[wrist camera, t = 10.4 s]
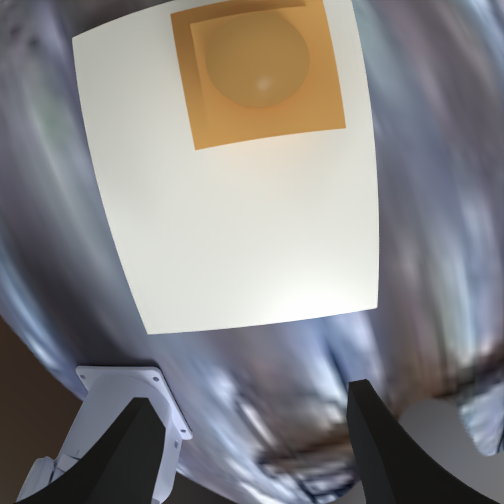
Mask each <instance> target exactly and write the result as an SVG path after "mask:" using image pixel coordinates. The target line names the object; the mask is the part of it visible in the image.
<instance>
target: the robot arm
mask: <svg viewBox="0 0 504 504" xmlns="http://www.w3.org/2000/svg"><path fill="white" fill-rule="evenodd" d="M75 371H76V373H77V375H78V376H79V378H80V379H81V381H82V383H83V384H84V386H85V387H86V389H87V390H88V394H87V396H86V398H85V400H84V402H83V404H82V406H81V408H80V410H79V412H78V414H77V417H76V418H75V421H74V423H73V425H72V427H71V429H70V432H69V433H68V435H67V438H66V440H65V442H64V444H63V446H62V449H61V451H60V453H59V455H58V457H57V458H56V459H55V460H52V459H51V458H49V457H45V458H40V459H37V460H36V461H35V463H34V465H33V466H32V468H31V470H30V472H29V474H28V476H27V478H26V480H25V482H24V484H23V487H22V489H21V491H20V494H19V496H18V498H17V501H16V503H14V504H161V503H162V502H163V501H164V500H165V499H166V498H167V497H168V496H169V494H170V492H171V490H172V487H173V482H174V477H175V472H176V467H177V462H178V457H179V453H180V448H181V443H182V439H192V436H193V434H192V432H191V430H190V429H189V427H188V425H187V423H186V421H185V419H184V417H183V415H182V414H181V412H180V410H179V408H178V406H177V404H176V402H175V400H174V398H173V396H172V394H171V392H170V390H169V388H168V386H167V383H166V381H165V379H164V377H163V375H162V373H161V371H160V370H159V369H158V368H156V367H99V366H77V368H76V369H75ZM156 377H157V378H156ZM346 417H347V423H348V429H349V435H350V441H351V445H352V448H353V452H354V455H355V459H356V463H357V466H358V470H359V473H360V477H361V481H362V485H363V488H364V492H365V497H366V504H500V503H498V502H496V501H494V500H492V499H490V498H488V497H486V496H484V495H482V494H480V493H479V492H477V491H475V490H474V489H472V488H471V487H469V486H467V485H466V484H464V483H463V482H462V481H460V480H459V479H457V478H456V477H455V476H453V475H452V474H450V473H449V472H448V471H446V470H445V469H444V468H443V467H442V466H440V465H439V464H438V463H437V462H436V461H435V460H433V459H432V458H431V457H430V456H429V455H428V454H427V453H426V452H425V451H424V450H423V449H422V448H421V447H420V446H419V445H418V444H417V443H416V442H415V441H414V440H413V439H412V438H411V437H410V436H409V434H407V432H406V431H405V430H404V429H403V428H402V426H401V425H400V424H399V423H398V421H397V420H396V419H395V418H394V416H393V415H392V414H391V413H390V411H389V410H388V409H387V407H386V406H385V405H384V403H383V402H382V400H381V399H380V398H379V396H378V395H377V393H376V392H375V390H374V388H373V387H372V385H371V384H370V382H369V381H368V380H367V379H364V380H359V381H353V382H349V389H348V403H347V416H346Z"/></svg>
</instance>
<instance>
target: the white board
mask: <svg viewBox="0 0 504 504" xmlns="http://www.w3.org/2000/svg"><path fill="white" fill-rule="evenodd" d="M223 1H229V0H174V1H170V2H166V3H163V4H160V5H156V6H153V7H150V8H147V9H143V10H140V11H137V12H135V13H132V14H129V15H126V16H123V17H121V18H118V19H115V20H113V21H110V22H108V23H105V24H103V25H100V26H98V27H95V28H93V29H91V30H89V31H86V32H84V33H82V34H80V35H78V36H75V37H73V38H72V43H73V52H74V61H75V69H76V77H77V84H78V90H79V96H80V103H81V108H82V114H83V119H84V125H85V130H86V135H87V140H88V144H89V149H90V153H91V158H92V162H93V166H94V171H95V175H96V179H97V183H98V187H99V190H100V194H101V198H102V202H103V205H104V209H105V212H106V216H107V219H108V223H109V226H110V229H111V233H112V236H113V239H114V242H115V245H116V249H117V252H118V255H119V258H120V261H121V264H122V267H123V270H124V272H125V275H126V278H127V281H128V284H129V287H130V289H131V292H132V295H133V297H134V300H135V303H136V305H137V308H138V311H139V313H140V316H141V318H142V321H143V323H144V326H145V328H146V331H147V333H148V334H161V333H176V332H190V331H202V330H214V329H225V328H235V327H245V326H254V325H263V324H271V323H279V322H287V321H295V320H302V319H310V318H317V317H323V316H330V315H337V314H343V313H349V312H355V311H361V310H367V309H373V308H377V299H378V272H379V214H378V187H377V170H376V156H375V144H374V133H373V123H372V115H371V106H370V99H369V91H368V84H367V78H366V71H365V65H364V60H363V54H362V49H361V43H360V38H359V33H358V28H357V24H356V19H355V15H354V10H353V6H352V2H351V0H323V4H324V8H325V12H326V16H327V21H328V25H329V30H330V35H331V39H332V44H333V49H334V54H335V60H336V65H337V71H338V77H339V83H340V89H341V95H342V102H343V109H344V116H345V123H346V128H344V129H333V130H323V131H314V132H305V133H297V134H289V135H282V136H275V137H268V138H261V139H255V140H249V141H243V142H237V143H231V144H226V145H220V146H215V147H210V148H205V149H200V150H195V147H194V142H193V137H192V132H191V127H190V122H189V117H188V112H187V107H186V101H185V96H184V91H183V85H182V80H181V75H180V69H179V63H178V58H177V52H176V46H175V41H174V35H173V29H172V23H171V17H170V14H172V13H175V12H179V11H183V10H187V9H191V8H195V7H199V6H204V5H208V4H213V3H218V2H223Z"/></svg>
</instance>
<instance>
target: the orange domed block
mask: <svg viewBox="0 0 504 504" xmlns="http://www.w3.org/2000/svg"><path fill="white" fill-rule="evenodd" d="M170 17H171V23H172V29H173V35H174V41H175V46H176V52H177V58H178V63H179V69H180V75H181V80H182V85H183V91H184V96H185V101H186V107H187V112H188V117H189V122H190V127H191V132H192V137H193V142H194V147H195V150H200V149H205V148H210V147H215V146H220V145H226V144H231V143H237V142H243V141H249V140H255V139H261V138H268V137H275V136H282V135H289V134H297V133H305V132H314V131H323V130H333V129H344V128H346V123H345V116H344V109H343V102H342V95H341V89H340V83H339V77H338V71H337V65H336V60H335V54H334V49H333V44H332V39H331V35H330V30H329V25H328V21H327V16H326V12H325V8H324V4H323V0H229V1H223V2H218V3H213V4H208V5H204V6H199V7H195V8H191V9H187V10H183V11H179V12H175V13H172V14H170Z"/></svg>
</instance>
